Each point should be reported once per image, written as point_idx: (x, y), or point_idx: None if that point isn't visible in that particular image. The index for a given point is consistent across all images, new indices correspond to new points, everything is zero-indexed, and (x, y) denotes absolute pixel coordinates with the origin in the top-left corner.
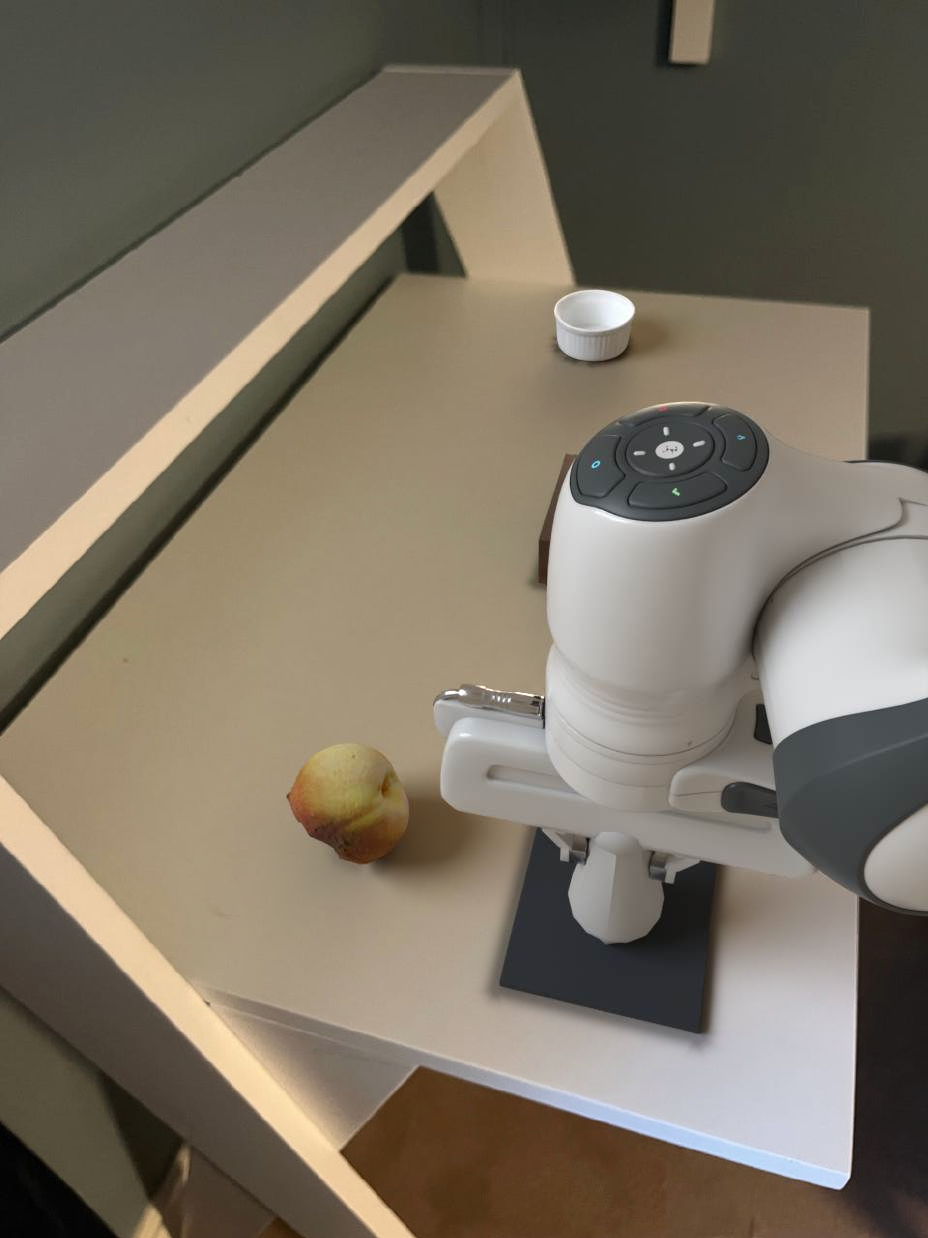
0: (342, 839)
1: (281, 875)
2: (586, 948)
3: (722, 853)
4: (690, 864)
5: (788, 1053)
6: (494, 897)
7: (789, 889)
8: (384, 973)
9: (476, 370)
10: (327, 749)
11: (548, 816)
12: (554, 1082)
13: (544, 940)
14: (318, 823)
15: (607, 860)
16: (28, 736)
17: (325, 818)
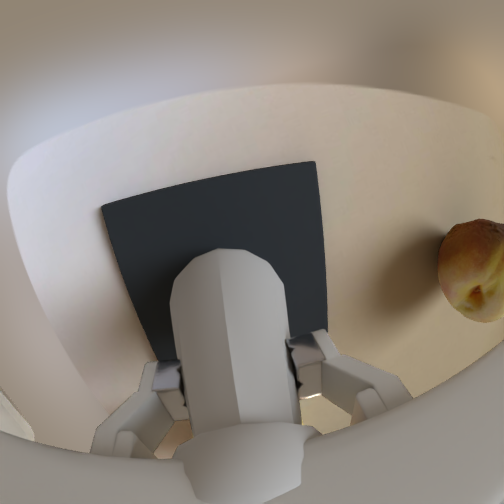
0: (500, 232)
1: (478, 197)
2: (239, 236)
3: (36, 480)
4: (110, 419)
5: (43, 227)
6: (345, 248)
7: (103, 357)
8: (407, 140)
9: None
10: None
11: (442, 445)
12: (220, 91)
13: (286, 225)
14: None
15: (253, 382)
16: None
17: None
